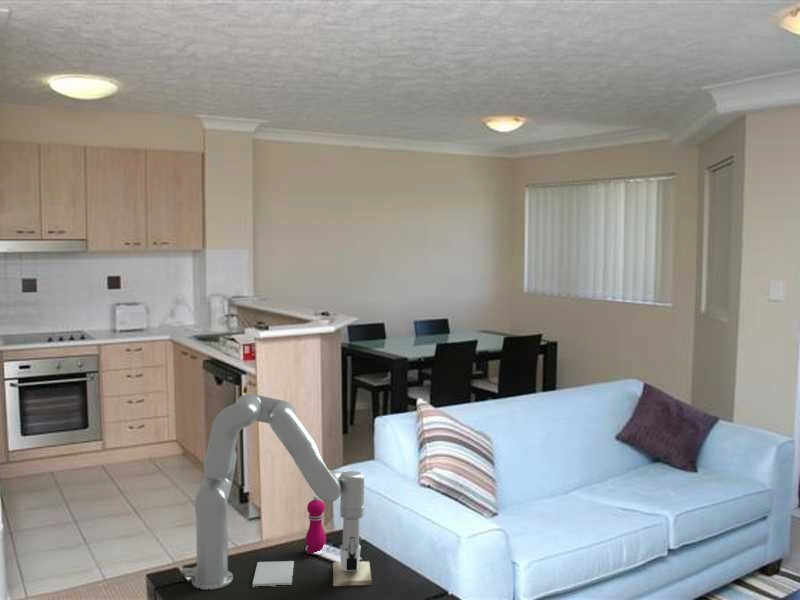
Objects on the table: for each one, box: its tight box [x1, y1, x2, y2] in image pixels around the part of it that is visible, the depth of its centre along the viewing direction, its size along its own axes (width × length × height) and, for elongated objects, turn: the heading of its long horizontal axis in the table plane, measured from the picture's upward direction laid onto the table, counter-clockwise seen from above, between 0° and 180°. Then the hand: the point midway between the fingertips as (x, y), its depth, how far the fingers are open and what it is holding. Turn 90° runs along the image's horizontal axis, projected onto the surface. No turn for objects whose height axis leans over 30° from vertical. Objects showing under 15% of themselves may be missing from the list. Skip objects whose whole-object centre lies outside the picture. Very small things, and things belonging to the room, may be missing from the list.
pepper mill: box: [304, 495, 327, 553], centre depth 251 cm, size 7×7×20 cm
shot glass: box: [339, 543, 362, 571], centre depth 233 cm, size 7×7×7 cm
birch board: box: [332, 560, 373, 587], centre depth 234 cm, size 12×14×2 cm
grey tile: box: [251, 560, 295, 588], centre depth 233 cm, size 12×16×1 cm
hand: (351, 565), depth 233 cm, fingers closed on shot glass, 5 cm apart
